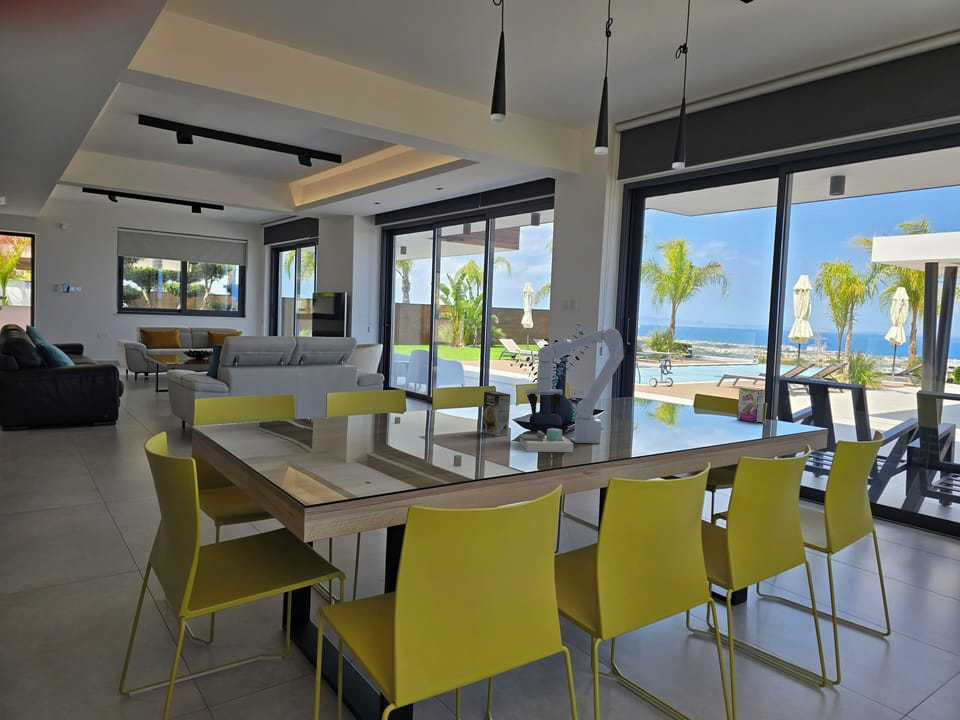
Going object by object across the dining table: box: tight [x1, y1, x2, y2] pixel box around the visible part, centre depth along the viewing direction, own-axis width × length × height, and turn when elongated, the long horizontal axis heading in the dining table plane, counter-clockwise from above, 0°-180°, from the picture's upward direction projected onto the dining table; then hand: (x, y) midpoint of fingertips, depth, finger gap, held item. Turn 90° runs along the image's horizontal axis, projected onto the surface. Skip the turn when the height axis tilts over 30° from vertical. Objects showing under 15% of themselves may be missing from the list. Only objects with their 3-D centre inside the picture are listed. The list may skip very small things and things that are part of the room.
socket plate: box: [519, 435, 574, 453], centre depth 221 cm, size 16×14×3 cm
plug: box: [546, 427, 563, 441], centre depth 221 cm, size 4×4×6 cm
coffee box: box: [482, 390, 511, 437], centre depth 244 cm, size 9×6×16 cm
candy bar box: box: [736, 386, 766, 424], centre depth 309 cm, size 11×5×16 cm, turn 30°
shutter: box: [519, 430, 546, 441], centre depth 220 cm, size 8×7×2 cm
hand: (543, 413), depth 239 cm, fingers open, 7 cm apart
